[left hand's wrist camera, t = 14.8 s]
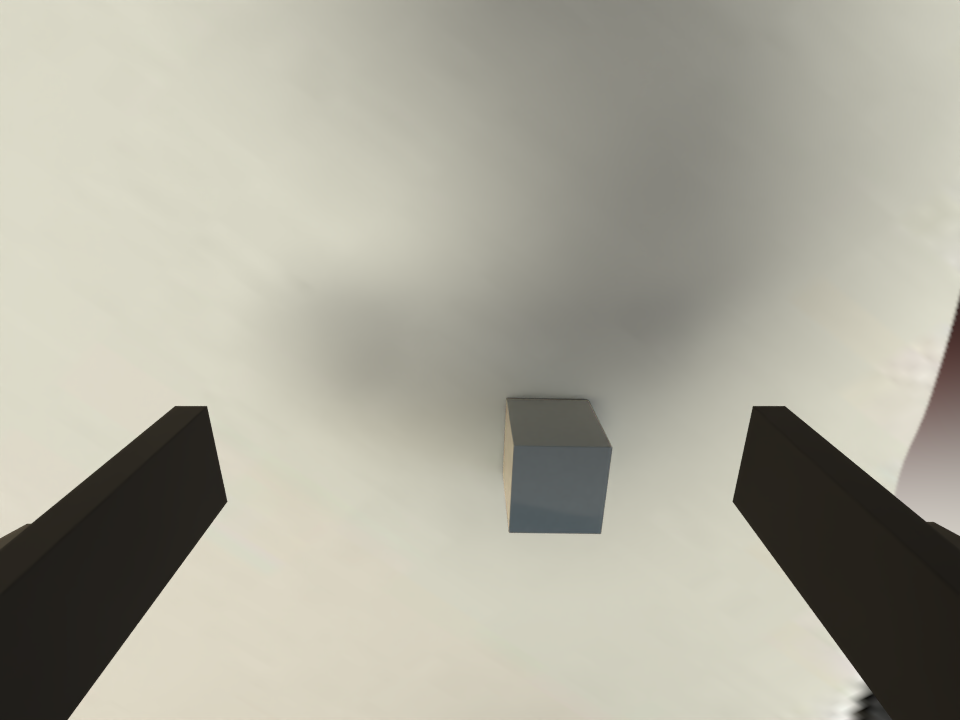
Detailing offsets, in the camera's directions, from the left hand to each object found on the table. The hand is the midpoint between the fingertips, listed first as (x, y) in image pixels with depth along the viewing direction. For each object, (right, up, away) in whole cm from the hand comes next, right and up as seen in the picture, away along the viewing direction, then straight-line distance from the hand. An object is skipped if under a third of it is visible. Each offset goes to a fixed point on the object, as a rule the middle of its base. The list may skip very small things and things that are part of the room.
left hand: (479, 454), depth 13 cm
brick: (+4, -2, +15) cm, 16 cm away
